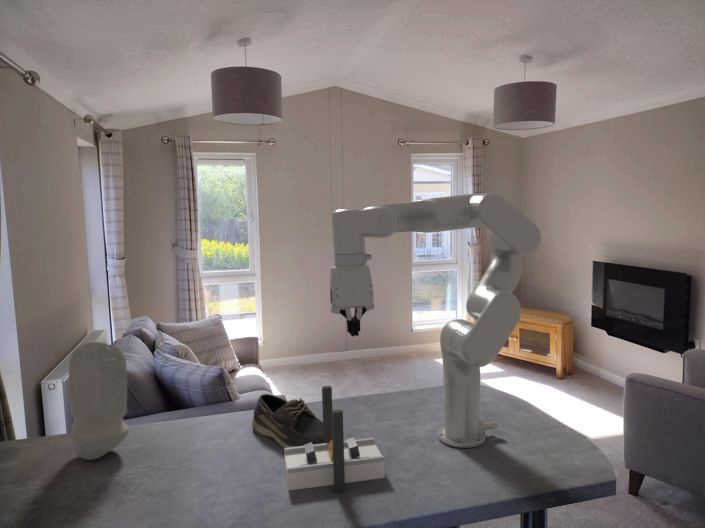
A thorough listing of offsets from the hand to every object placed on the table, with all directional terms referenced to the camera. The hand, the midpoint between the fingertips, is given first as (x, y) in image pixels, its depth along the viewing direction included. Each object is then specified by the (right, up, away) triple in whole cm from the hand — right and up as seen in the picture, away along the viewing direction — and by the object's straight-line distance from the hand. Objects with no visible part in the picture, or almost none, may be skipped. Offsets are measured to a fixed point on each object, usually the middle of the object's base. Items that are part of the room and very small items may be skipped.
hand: (354, 334), depth 125 cm
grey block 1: (-10, -28, -7) cm, 30 cm away
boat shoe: (-17, -30, +12) cm, 37 cm away
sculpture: (-64, -32, +5) cm, 72 cm away
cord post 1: (-6, -31, +2) cm, 31 cm away
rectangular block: (-5, -28, -6) cm, 29 cm away
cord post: (-3, -32, -13) cm, 35 cm away
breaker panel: (-5, -32, -5) cm, 32 cm away
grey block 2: (0, -27, -5) cm, 28 cm away
